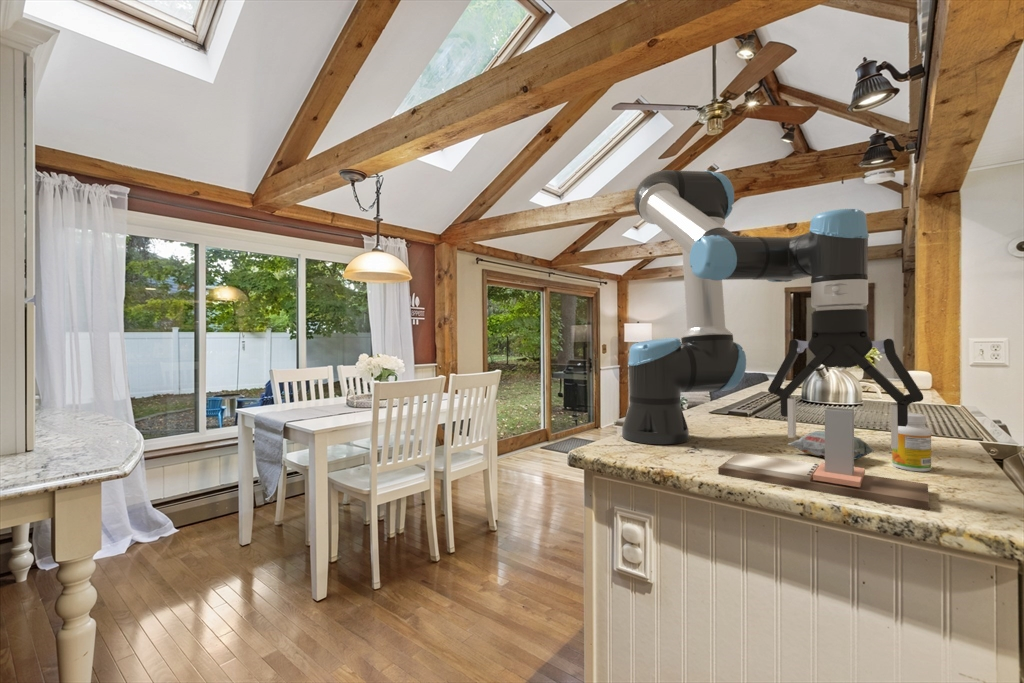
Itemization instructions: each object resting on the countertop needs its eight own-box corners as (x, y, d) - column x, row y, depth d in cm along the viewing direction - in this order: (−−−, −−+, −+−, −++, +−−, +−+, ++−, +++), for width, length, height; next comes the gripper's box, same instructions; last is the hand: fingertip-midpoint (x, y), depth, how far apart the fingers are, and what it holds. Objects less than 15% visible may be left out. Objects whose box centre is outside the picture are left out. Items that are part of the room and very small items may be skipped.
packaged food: (848, 468, 87) (848, 441, 87) (786, 453, 98) (787, 429, 98) (875, 462, 91) (876, 436, 91) (813, 449, 102) (813, 426, 102)
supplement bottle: (890, 462, 90) (890, 411, 90) (927, 466, 87) (928, 413, 87) (894, 469, 86) (894, 415, 86) (934, 474, 83) (934, 417, 83)
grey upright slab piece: (813, 479, 76) (812, 411, 75) (821, 467, 82) (821, 404, 82) (859, 487, 72) (859, 415, 72) (864, 473, 79) (864, 407, 78)
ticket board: (718, 474, 84) (718, 462, 84) (734, 461, 92) (734, 450, 92) (929, 510, 66) (929, 495, 66) (927, 491, 74) (927, 477, 74)
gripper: (748, 311, 82) (749, 436, 82) (945, 303, 66) (946, 457, 66) (759, 313, 88) (760, 429, 88) (942, 305, 71) (944, 447, 72)
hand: (840, 441), depth 77 cm, fingers open, 13 cm apart
